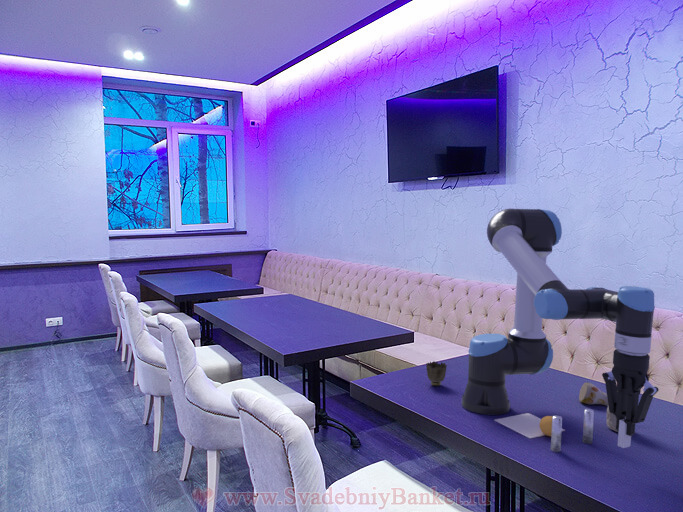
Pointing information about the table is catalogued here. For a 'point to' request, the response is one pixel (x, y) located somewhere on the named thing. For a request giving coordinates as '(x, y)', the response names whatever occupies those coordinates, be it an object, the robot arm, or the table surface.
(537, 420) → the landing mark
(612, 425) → the carving
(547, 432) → the ball
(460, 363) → the table surface
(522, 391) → the table surface
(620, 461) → the table surface
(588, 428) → the post
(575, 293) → the robot arm
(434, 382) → the cup
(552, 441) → the post
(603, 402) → the mug
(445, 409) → the table surface
